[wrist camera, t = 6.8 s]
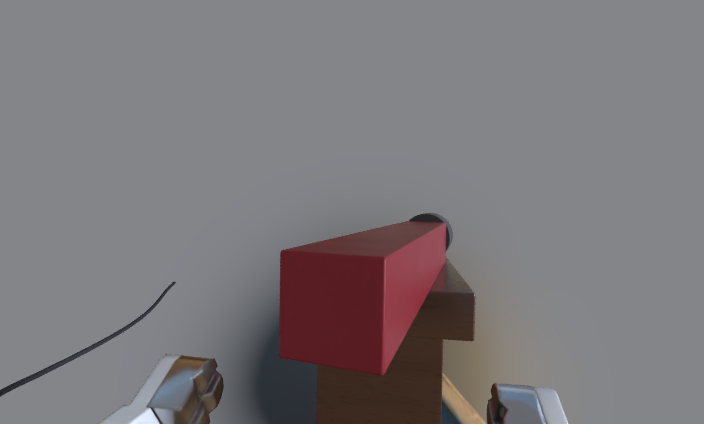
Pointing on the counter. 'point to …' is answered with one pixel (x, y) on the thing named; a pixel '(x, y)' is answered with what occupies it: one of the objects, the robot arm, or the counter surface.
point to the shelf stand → (404, 365)
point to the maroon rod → (359, 293)
